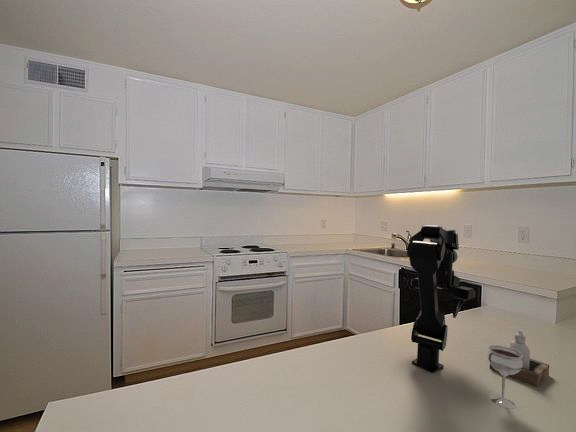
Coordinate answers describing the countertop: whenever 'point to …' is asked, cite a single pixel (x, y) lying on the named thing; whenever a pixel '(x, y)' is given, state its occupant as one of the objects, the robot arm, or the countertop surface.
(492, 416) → the countertop surface
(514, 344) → the eye dropper bottle
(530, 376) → the rubber-lined collar
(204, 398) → the countertop surface
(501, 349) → the wineglass
